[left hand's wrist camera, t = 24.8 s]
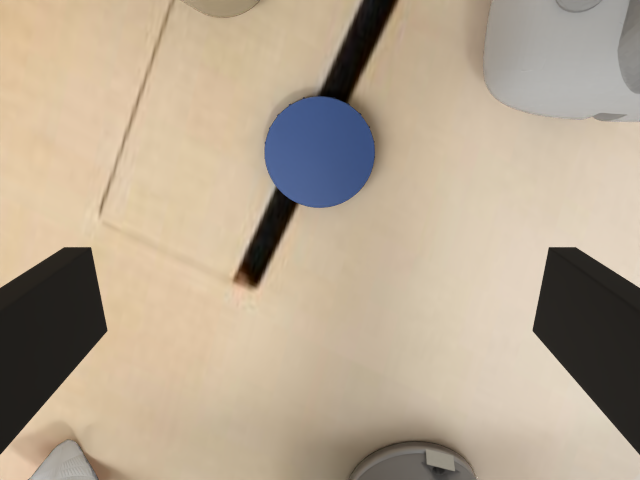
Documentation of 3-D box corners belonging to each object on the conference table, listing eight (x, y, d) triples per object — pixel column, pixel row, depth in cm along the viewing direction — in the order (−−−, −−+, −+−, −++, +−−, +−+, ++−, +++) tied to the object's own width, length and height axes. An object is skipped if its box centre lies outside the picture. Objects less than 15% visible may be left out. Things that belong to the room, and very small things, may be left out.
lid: (244, 134, 36) (241, 136, 35) (337, 72, 35) (338, 71, 33) (303, 221, 39) (302, 227, 37) (392, 168, 37) (395, 172, 36)
